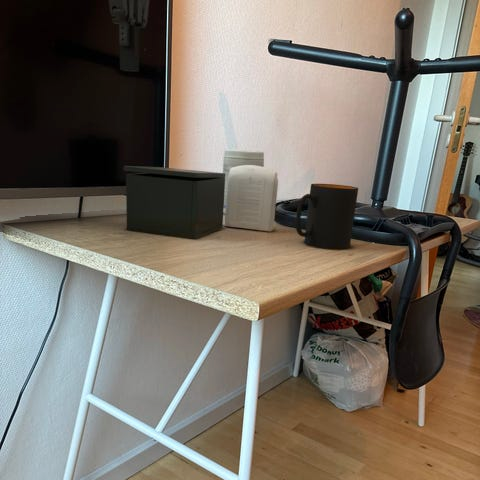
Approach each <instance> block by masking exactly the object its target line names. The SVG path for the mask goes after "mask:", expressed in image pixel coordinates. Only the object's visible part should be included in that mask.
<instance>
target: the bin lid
mask: <svg viewBox="0 0 480 480" xmlns="http://www.w3.org/2000/svg"><path fill="white" fill-rule="evenodd" d="M123 171H124V172H133V173H152V174H162V175H172V176H182V177H192V178H225V175H226V173H223V172H215V171H205V170H194V169H185V168H175V167H174V168H172V167H163V166H161V167H160V166H139V165H138V166H137V165H135V166H133V165H132V166H131V165H123Z"/></svg>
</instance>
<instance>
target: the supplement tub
mask: <svg viewBox="0 0 480 480" xmlns="http://www.w3.org/2000/svg"><path fill="white" fill-rule="evenodd" d="M223 152H224V153H223V164H222V173H226V175H225V192H224V210H223V215H225V210H226V197H227V183H228V176H229V171H230V168H233V167H236V166H242V165H256V166H262V167H265V158H264V157H265V152H264V151H259V150H248V149H247V150H246V149H245V150H244V149H224V151H223Z"/></svg>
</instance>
